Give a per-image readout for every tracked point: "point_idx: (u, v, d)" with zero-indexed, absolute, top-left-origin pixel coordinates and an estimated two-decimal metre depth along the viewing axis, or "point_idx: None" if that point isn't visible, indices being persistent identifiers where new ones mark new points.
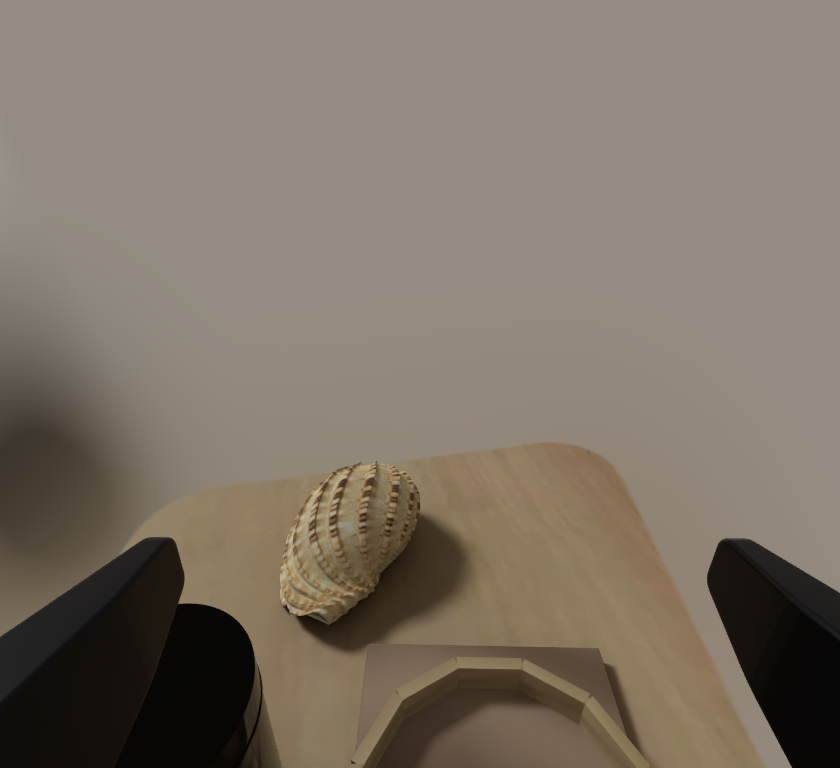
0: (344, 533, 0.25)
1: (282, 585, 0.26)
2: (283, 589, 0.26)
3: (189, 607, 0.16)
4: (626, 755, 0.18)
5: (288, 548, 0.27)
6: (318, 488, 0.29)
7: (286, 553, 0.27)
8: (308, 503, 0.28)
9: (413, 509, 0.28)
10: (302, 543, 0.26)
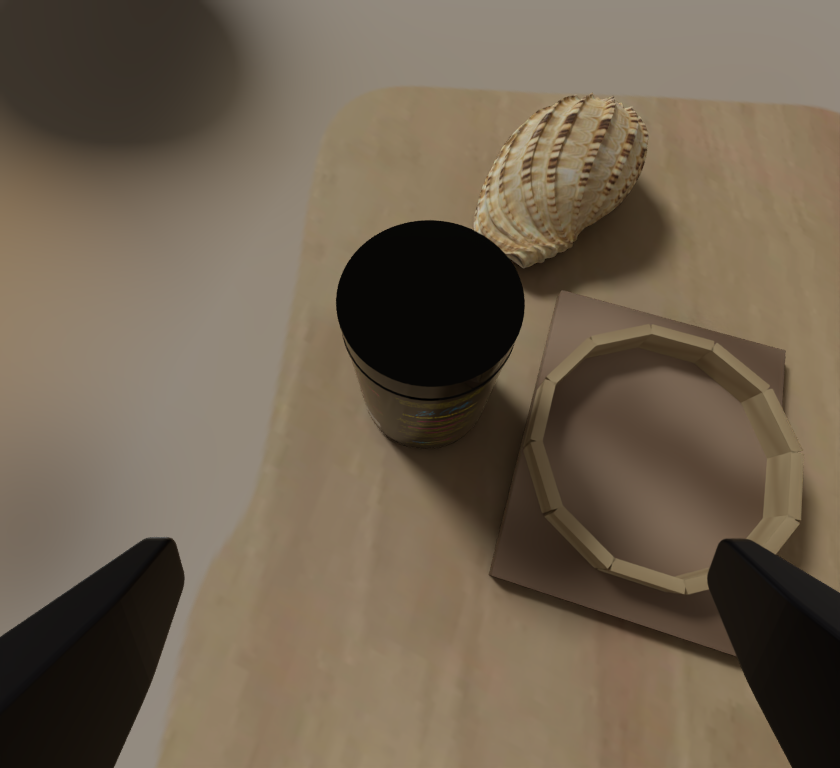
0: (563, 181, 0.23)
1: (480, 219, 0.26)
2: (481, 223, 0.26)
3: (456, 227, 0.16)
4: (784, 437, 0.21)
5: (492, 182, 0.25)
6: (534, 117, 0.25)
7: (489, 187, 0.25)
8: (522, 134, 0.25)
9: (637, 168, 0.24)
10: (511, 181, 0.24)
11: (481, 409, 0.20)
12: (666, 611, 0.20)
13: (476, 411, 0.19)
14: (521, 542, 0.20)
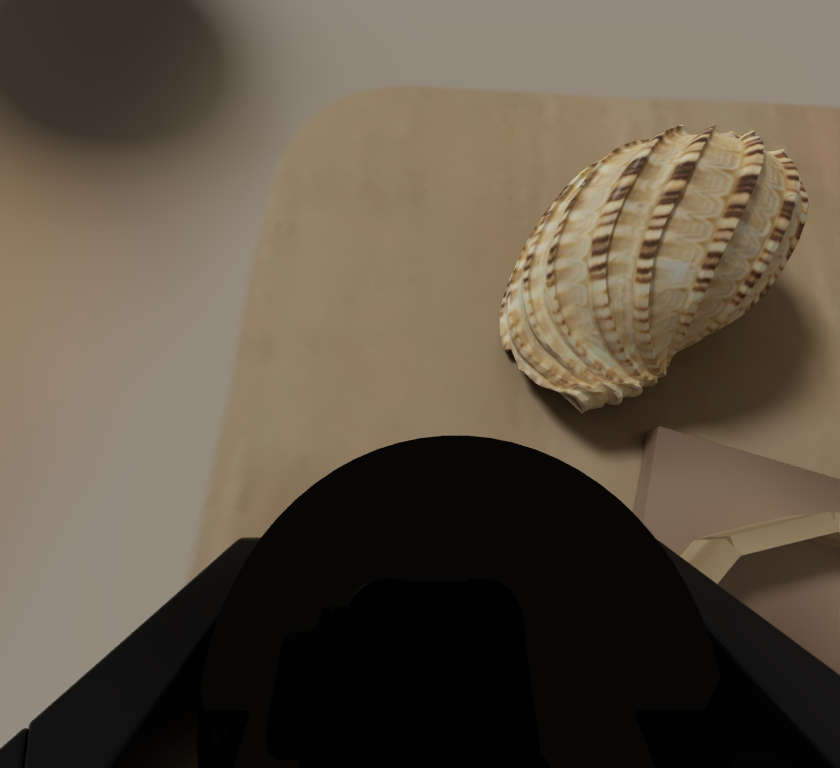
0: (664, 281, 0.13)
1: (511, 320, 0.16)
2: (513, 328, 0.16)
3: (524, 457, 0.06)
4: None
5: (534, 264, 0.15)
6: (611, 161, 0.15)
7: (530, 272, 0.15)
8: (589, 189, 0.15)
9: None
10: (570, 270, 0.14)
11: None
12: None
13: None
14: None
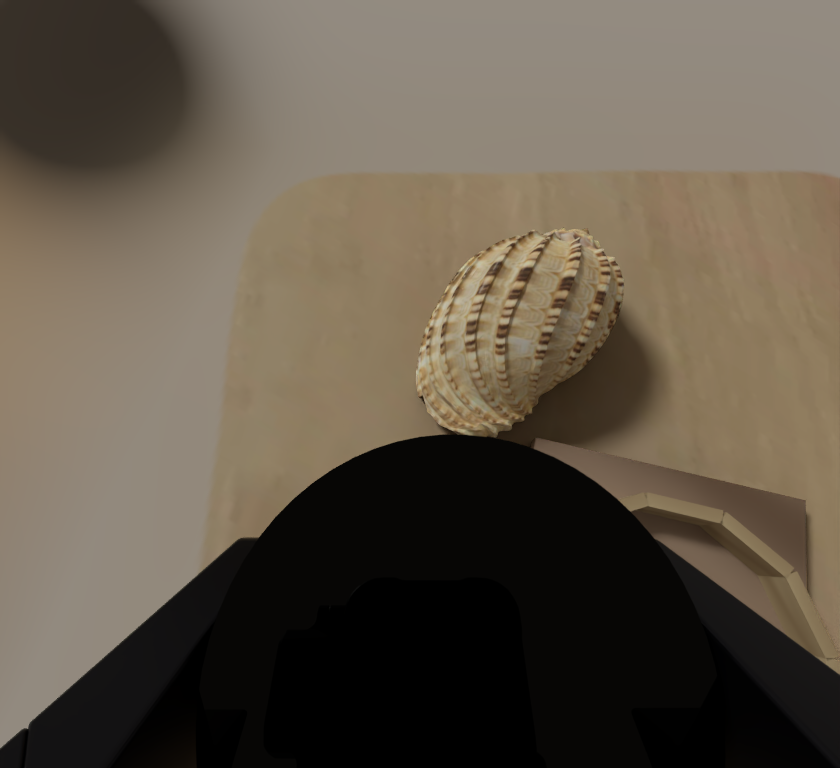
0: (515, 352, 0.18)
1: (421, 375, 0.21)
2: (421, 381, 0.21)
3: (522, 456, 0.06)
4: (816, 639, 0.17)
5: (433, 334, 0.20)
6: (484, 258, 0.20)
7: (430, 341, 0.20)
8: (468, 280, 0.20)
9: None
10: (454, 342, 0.19)
11: None
12: None
13: None
14: None
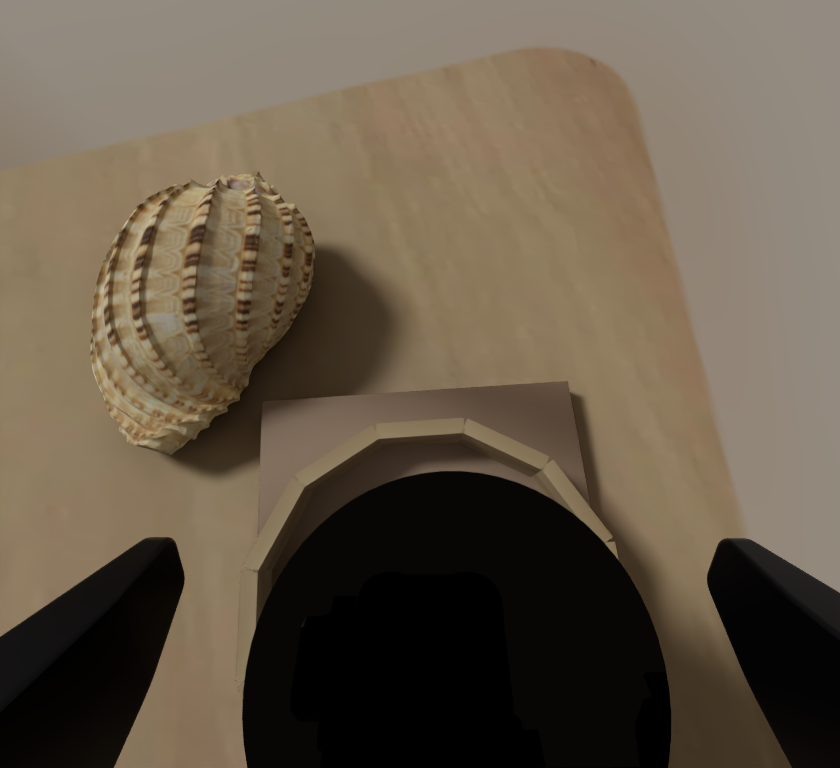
0: (162, 332, 0.15)
1: None
2: (104, 396, 0.17)
3: (508, 489, 0.08)
4: None
5: None
6: None
7: (93, 345, 0.17)
8: (110, 262, 0.16)
9: (296, 269, 0.17)
10: (105, 339, 0.16)
11: None
12: None
13: None
14: None
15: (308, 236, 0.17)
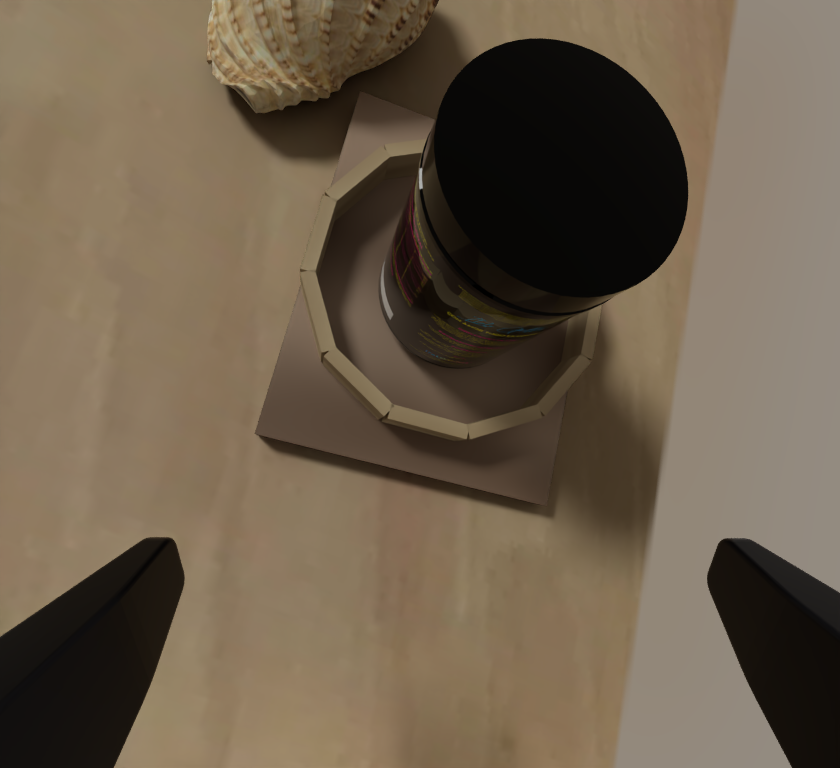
0: None
1: (209, 29, 0.18)
2: (208, 35, 0.18)
3: (630, 80, 0.11)
4: None
5: None
6: None
7: None
8: None
9: (425, 0, 0.18)
10: None
11: None
12: (453, 460, 0.18)
13: None
14: (293, 395, 0.17)
15: None
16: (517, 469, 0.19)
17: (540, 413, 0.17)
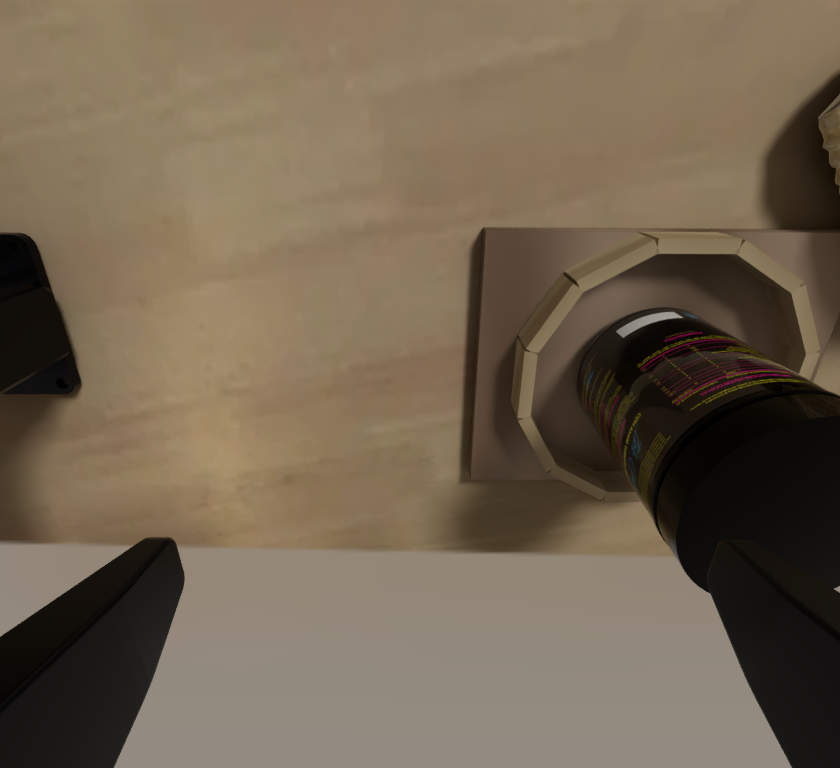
0: None
1: None
2: None
3: None
4: None
5: None
6: None
7: None
8: None
9: None
10: None
11: None
12: (493, 403, 0.21)
13: None
14: (528, 255, 0.18)
15: None
16: (496, 453, 0.22)
17: (549, 469, 0.20)
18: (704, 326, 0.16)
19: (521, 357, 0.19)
